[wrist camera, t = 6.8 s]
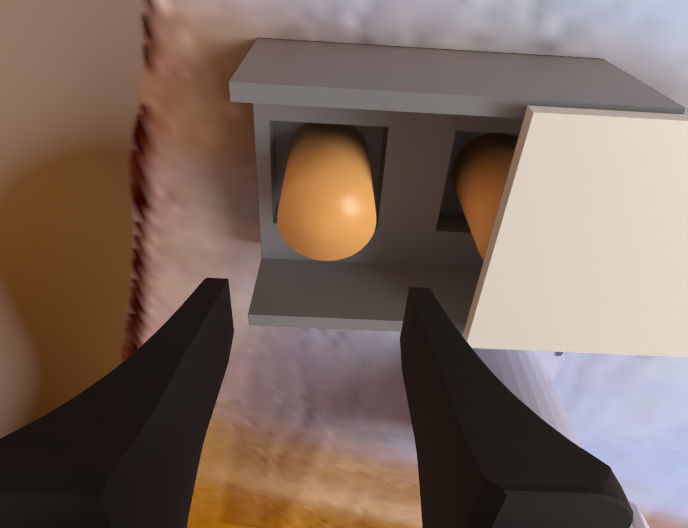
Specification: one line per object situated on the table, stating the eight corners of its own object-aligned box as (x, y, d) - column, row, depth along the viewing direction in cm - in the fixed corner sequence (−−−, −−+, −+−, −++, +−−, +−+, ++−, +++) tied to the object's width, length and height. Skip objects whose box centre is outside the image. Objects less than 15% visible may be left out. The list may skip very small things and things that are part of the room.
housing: (532, 257, 26) (575, 338, 21) (267, 245, 25) (248, 325, 20) (602, 58, 20) (685, 108, 15) (258, 37, 19) (228, 81, 14)
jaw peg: (362, 196, 23) (367, 265, 19) (286, 187, 23) (274, 255, 18) (374, 123, 21) (384, 182, 17) (291, 113, 21) (279, 170, 16)
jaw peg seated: (518, 206, 24) (558, 275, 19) (445, 202, 23) (468, 271, 19) (540, 134, 21) (591, 194, 17) (459, 130, 21) (489, 189, 17)
